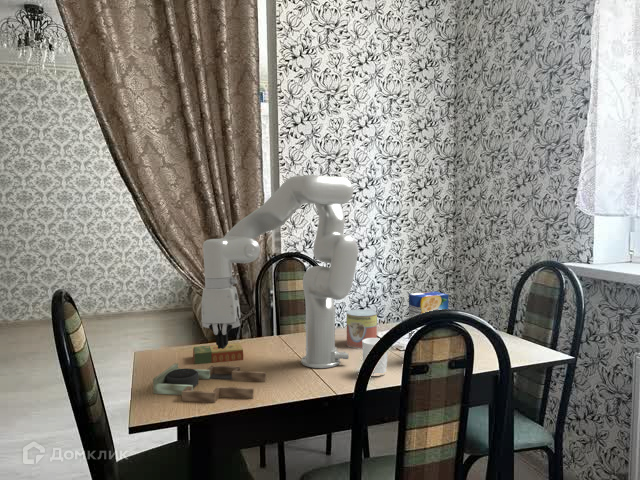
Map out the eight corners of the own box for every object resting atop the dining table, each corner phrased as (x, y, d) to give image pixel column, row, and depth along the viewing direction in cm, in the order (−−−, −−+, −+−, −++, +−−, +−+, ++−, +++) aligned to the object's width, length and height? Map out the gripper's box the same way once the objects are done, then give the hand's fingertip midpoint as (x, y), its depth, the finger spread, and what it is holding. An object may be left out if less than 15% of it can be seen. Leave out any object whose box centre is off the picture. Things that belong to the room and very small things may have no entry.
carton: (243, 361, 167) (243, 348, 167) (193, 365, 163) (193, 352, 162) (240, 354, 175) (240, 342, 175) (193, 358, 171) (192, 345, 170)
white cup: (381, 379, 148) (381, 345, 147) (357, 374, 152) (357, 342, 152) (392, 371, 155) (392, 339, 154) (369, 367, 159) (369, 336, 158)
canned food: (341, 346, 183) (341, 314, 182) (352, 339, 193) (352, 308, 193) (371, 350, 179) (371, 316, 178) (380, 342, 189) (380, 310, 188)
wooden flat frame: (269, 376, 151) (269, 363, 151) (248, 404, 129) (248, 389, 129) (180, 372, 155) (180, 359, 155) (146, 398, 133) (145, 384, 133)
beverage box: (408, 359, 168) (408, 293, 166) (434, 354, 172) (435, 291, 171) (420, 364, 161) (421, 297, 160) (447, 360, 166) (448, 294, 165)
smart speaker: (162, 392, 139) (161, 377, 138) (171, 381, 148) (171, 367, 147) (194, 391, 139) (194, 377, 138) (201, 380, 148) (201, 367, 147)
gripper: (248, 280, 143) (251, 343, 144) (198, 281, 145) (202, 343, 146) (240, 285, 135) (244, 351, 137) (188, 285, 137) (192, 351, 139)
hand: (222, 347), depth 142 cm, fingers closed
